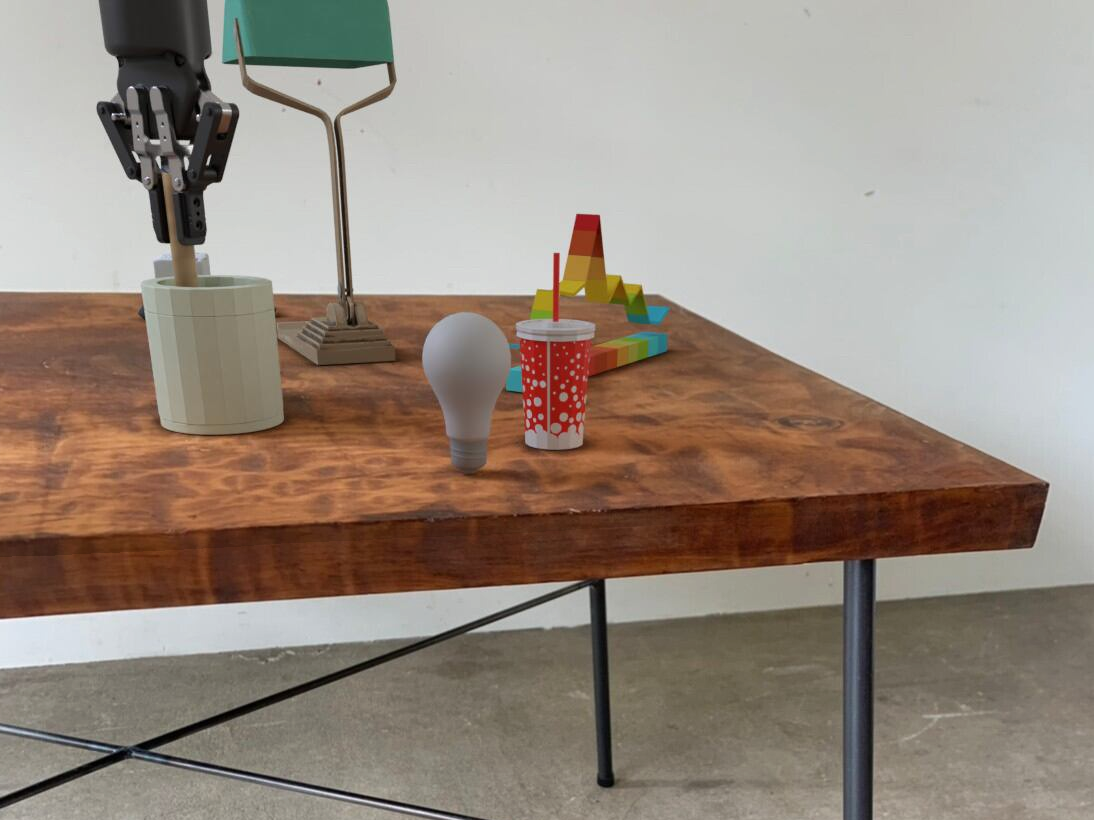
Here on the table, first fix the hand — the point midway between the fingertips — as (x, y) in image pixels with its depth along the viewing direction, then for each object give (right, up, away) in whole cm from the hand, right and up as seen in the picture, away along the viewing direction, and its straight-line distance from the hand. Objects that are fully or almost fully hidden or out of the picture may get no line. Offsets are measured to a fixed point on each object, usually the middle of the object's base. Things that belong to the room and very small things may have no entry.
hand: (181, 242), depth 91 cm
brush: (0, -10, +5) cm, 11 cm away
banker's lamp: (+4, +5, +41) cm, 41 cm away
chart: (+33, 0, +31) cm, 46 cm away
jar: (+1, -12, +6) cm, 14 cm away
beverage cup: (+29, -15, +1) cm, 33 cm away
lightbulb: (+23, -20, -7) cm, 31 cm away
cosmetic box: (-3, -8, +14) cm, 17 cm away
